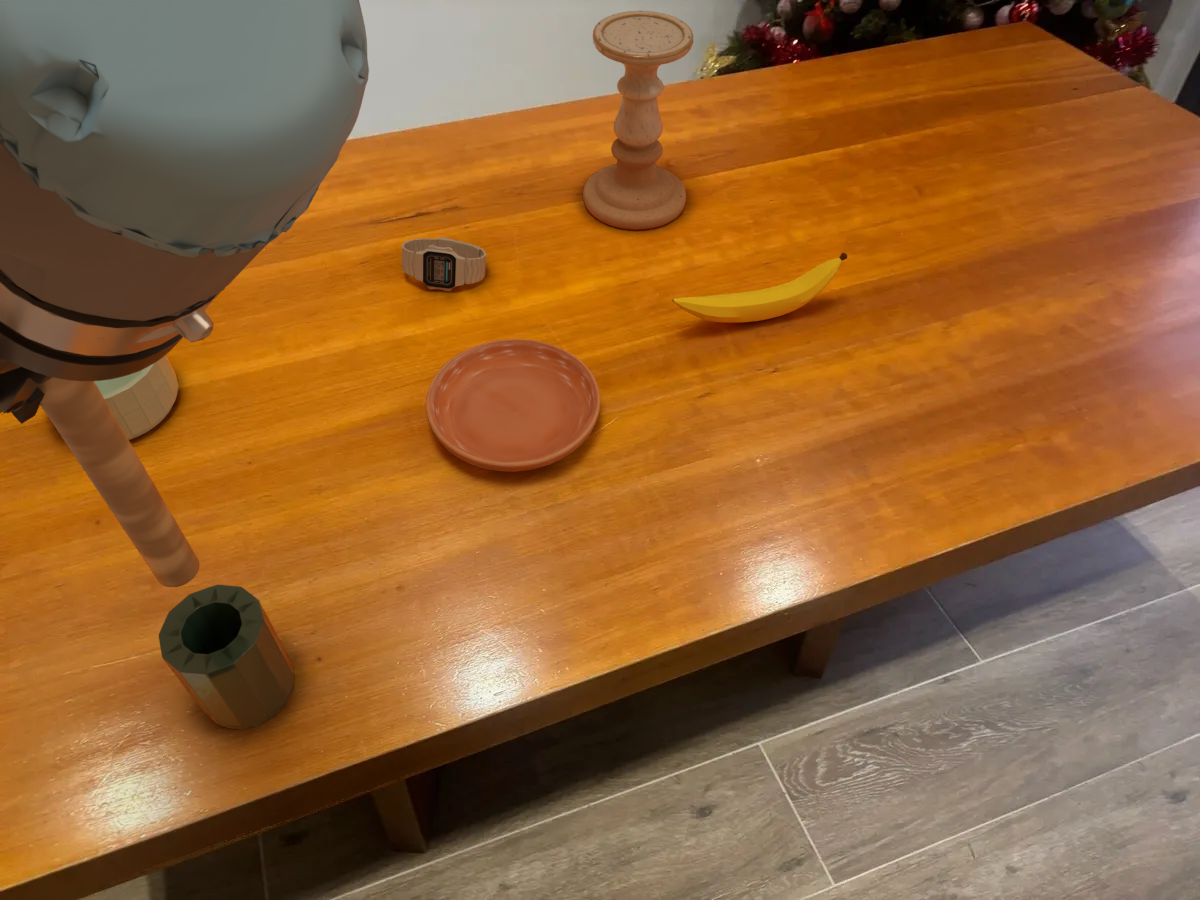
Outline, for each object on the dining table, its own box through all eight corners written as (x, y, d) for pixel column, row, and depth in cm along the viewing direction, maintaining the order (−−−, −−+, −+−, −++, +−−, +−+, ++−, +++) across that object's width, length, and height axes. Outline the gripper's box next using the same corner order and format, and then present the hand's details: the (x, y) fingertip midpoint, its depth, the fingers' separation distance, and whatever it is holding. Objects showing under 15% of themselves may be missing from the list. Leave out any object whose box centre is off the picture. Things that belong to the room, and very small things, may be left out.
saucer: (627, 392, 87) (628, 370, 85) (549, 510, 78) (548, 489, 76) (485, 340, 92) (483, 318, 89) (395, 446, 82) (390, 424, 80)
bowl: (60, 464, 80) (28, 420, 76) (51, 382, 87) (21, 336, 82) (189, 426, 84) (167, 381, 79) (172, 350, 90) (150, 304, 85)
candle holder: (613, 242, 102) (619, 71, 87) (565, 186, 109) (563, 19, 94) (705, 214, 106) (726, 45, 91) (653, 161, 113) (664, -3, 98)
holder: (211, 744, 64) (167, 688, 57) (196, 666, 68) (152, 606, 61) (303, 707, 66) (271, 649, 59) (283, 634, 70) (251, 572, 63)
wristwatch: (398, 289, 97) (391, 252, 93) (410, 253, 101) (403, 215, 97) (483, 294, 96) (479, 256, 92) (491, 257, 100) (488, 220, 97)
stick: (159, 593, 56) (-46, 291, 37) (154, 561, 57) (-46, 255, 39) (202, 578, 56) (22, 276, 38) (196, 547, 58) (20, 241, 40)
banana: (663, 327, 93) (668, 279, 89) (827, 292, 98) (840, 244, 93) (673, 346, 92) (679, 298, 87) (840, 309, 96) (853, 261, 91)
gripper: (-65, 492, 25) (-55, 532, 44) (352, 229, 33) (209, 358, 52) (-283, 266, 23) (-174, 409, 42) (218, 44, 31) (120, 248, 50)
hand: (38, 381), depth 47 cm, fingers closed on stick, 2 cm apart
